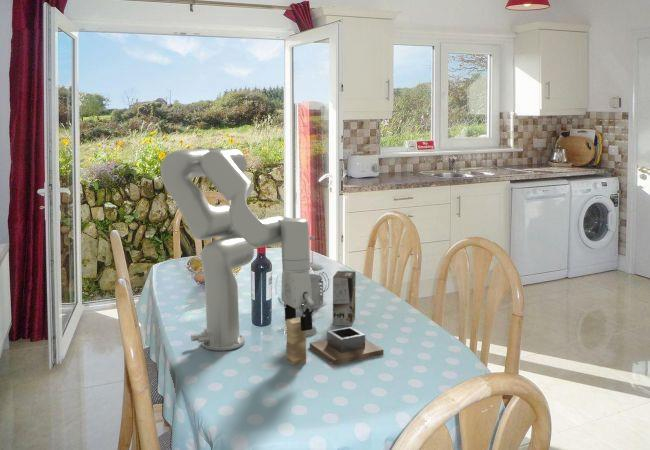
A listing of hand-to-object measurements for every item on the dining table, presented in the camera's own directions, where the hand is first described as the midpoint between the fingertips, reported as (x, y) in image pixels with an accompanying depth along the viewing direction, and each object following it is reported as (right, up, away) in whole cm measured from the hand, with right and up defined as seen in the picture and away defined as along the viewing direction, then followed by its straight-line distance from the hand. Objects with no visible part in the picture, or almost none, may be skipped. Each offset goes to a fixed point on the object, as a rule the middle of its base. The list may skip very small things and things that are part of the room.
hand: (298, 325), depth 174 cm
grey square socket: (+13, -8, +10) cm, 18 cm away
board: (+13, -9, +10) cm, 19 cm away
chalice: (+2, -7, +25) cm, 26 cm away
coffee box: (+14, -5, +36) cm, 39 cm away
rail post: (-1, -11, +2) cm, 11 cm away
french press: (+4, -1, +54) cm, 54 cm away
